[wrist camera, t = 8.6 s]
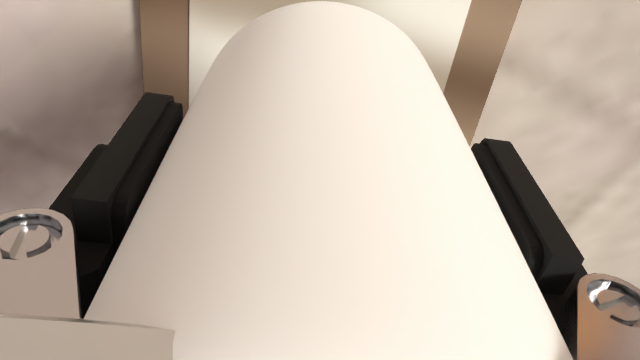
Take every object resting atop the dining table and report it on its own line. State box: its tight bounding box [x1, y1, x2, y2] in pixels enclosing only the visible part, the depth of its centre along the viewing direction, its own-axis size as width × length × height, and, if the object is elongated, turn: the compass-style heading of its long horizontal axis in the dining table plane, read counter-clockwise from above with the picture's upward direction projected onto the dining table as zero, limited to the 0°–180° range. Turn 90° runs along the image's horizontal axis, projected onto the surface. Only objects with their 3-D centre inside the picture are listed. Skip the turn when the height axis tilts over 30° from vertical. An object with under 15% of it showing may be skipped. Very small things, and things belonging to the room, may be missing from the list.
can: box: [84, 1, 573, 360], centre depth 9 cm, size 6×6×12 cm
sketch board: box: [139, 0, 522, 147], centre depth 21 cm, size 17×15×1 cm
